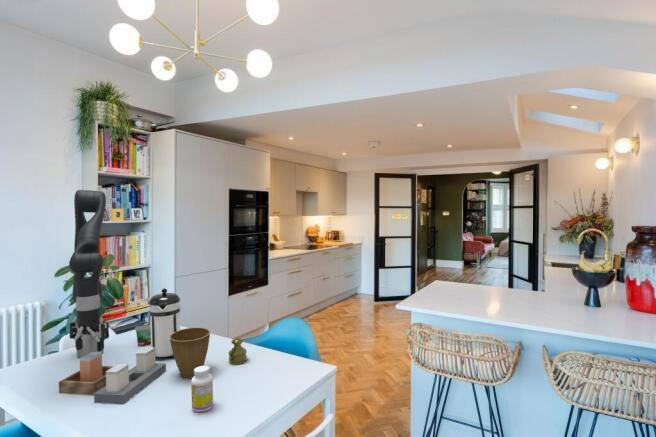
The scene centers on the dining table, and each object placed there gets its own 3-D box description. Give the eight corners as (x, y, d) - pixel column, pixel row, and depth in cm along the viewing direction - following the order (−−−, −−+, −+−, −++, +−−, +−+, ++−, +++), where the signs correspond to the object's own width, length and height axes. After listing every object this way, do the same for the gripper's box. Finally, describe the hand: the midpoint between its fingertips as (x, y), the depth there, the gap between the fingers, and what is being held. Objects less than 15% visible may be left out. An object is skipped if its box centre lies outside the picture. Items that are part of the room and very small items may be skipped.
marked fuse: (90, 386, 135) (89, 358, 134) (80, 385, 135) (79, 358, 135) (102, 378, 141) (101, 352, 140) (93, 377, 141) (92, 352, 141)
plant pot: (164, 374, 145) (162, 334, 145) (199, 362, 156) (198, 325, 156) (181, 386, 135) (180, 343, 135) (218, 372, 146) (217, 332, 145)
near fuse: (117, 401, 126) (116, 372, 125) (106, 400, 126) (105, 371, 126) (129, 392, 132) (128, 364, 131) (119, 391, 132) (118, 364, 132)
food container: (147, 348, 173) (146, 327, 173) (135, 347, 175) (134, 326, 174) (163, 338, 185) (163, 319, 185) (153, 338, 187) (152, 318, 186)
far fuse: (146, 379, 142) (145, 353, 141) (136, 378, 142) (136, 353, 142) (155, 372, 147) (155, 347, 147) (146, 371, 148) (145, 347, 148)
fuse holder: (123, 403, 124) (123, 395, 124) (94, 402, 125) (93, 393, 125) (166, 370, 149) (165, 363, 149) (141, 369, 150) (140, 362, 150)
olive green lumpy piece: (225, 363, 155) (224, 340, 154) (235, 356, 161) (235, 334, 161) (239, 366, 152) (239, 342, 151) (250, 359, 159) (249, 336, 158)
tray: (59, 393, 132) (58, 381, 132) (89, 375, 146) (88, 365, 146) (94, 394, 130) (94, 383, 130) (121, 376, 144) (121, 366, 144)
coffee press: (193, 352, 167) (191, 286, 166) (161, 365, 154) (158, 293, 153) (169, 345, 176) (168, 282, 176) (137, 357, 163) (135, 289, 162)
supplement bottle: (195, 402, 124) (194, 364, 123) (215, 401, 124) (214, 363, 124) (189, 413, 117) (188, 373, 117) (210, 412, 118) (209, 372, 117)
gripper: (113, 304, 140) (114, 347, 140) (79, 303, 141) (80, 345, 142) (98, 310, 132) (99, 355, 133) (62, 309, 134) (64, 353, 135)
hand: (89, 350), depth 138 cm, fingers open, 8 cm apart
